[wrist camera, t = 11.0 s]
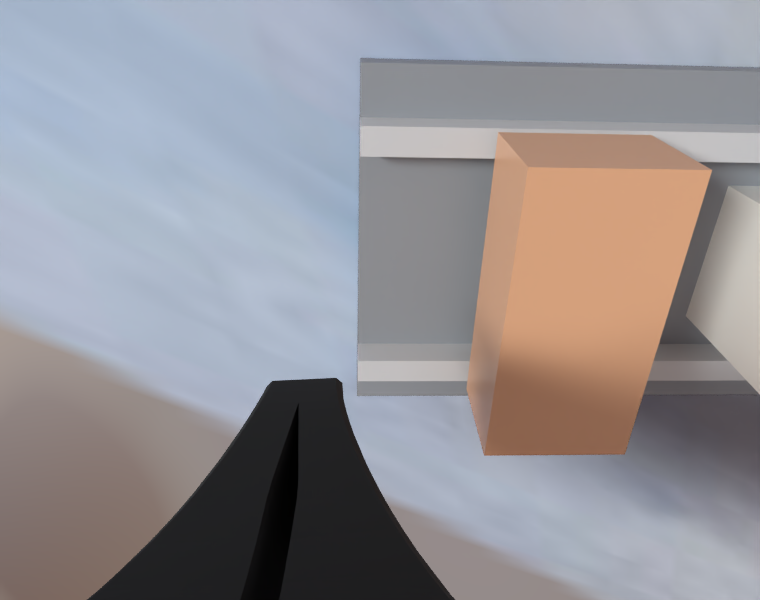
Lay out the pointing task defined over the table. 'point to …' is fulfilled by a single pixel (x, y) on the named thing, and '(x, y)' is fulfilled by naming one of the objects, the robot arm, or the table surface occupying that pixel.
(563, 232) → the peach block
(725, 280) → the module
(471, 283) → the rail holder
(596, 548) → the table surface
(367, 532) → the robot arm
